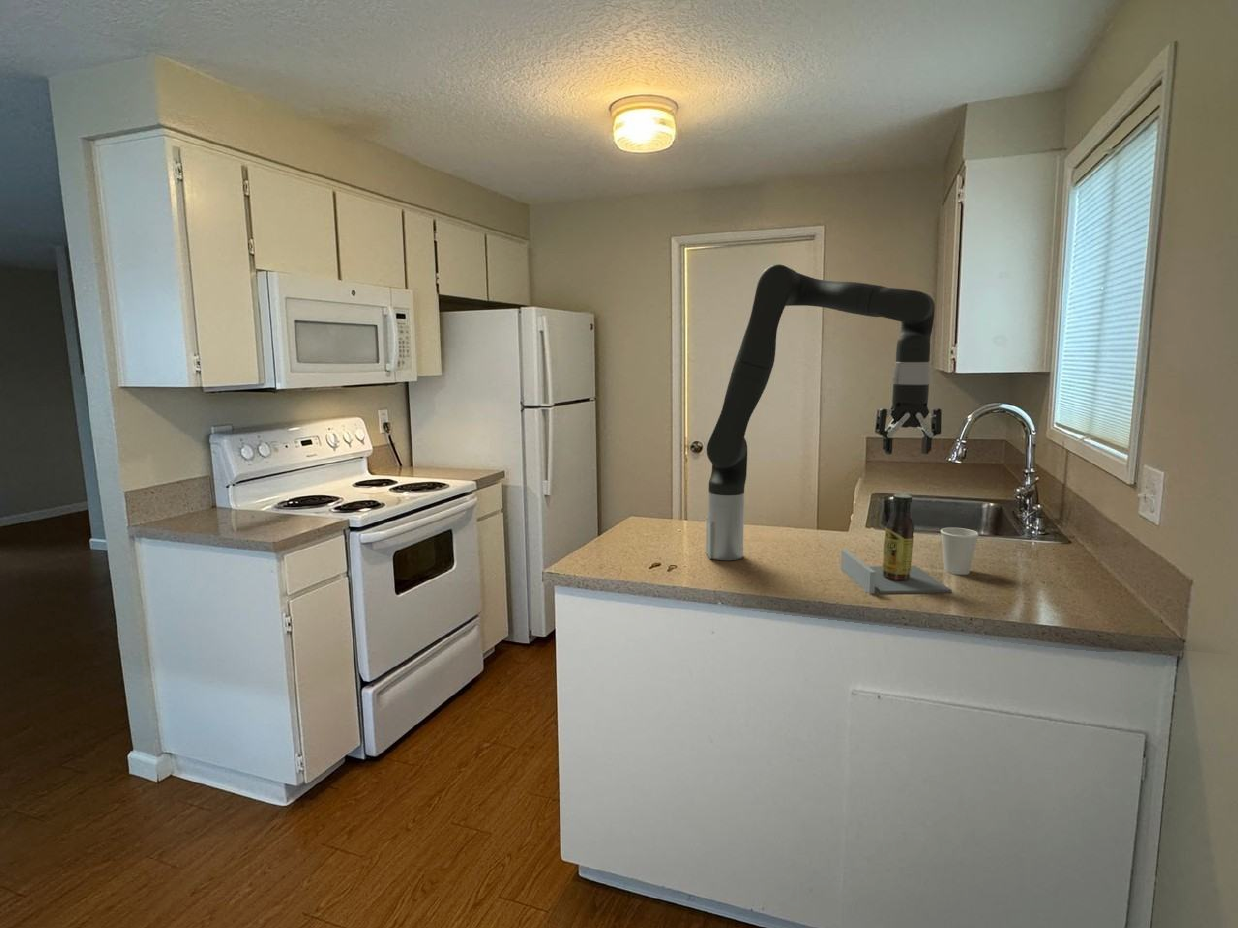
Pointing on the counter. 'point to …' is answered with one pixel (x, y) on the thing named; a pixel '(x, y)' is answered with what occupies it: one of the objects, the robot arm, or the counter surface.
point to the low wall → (858, 571)
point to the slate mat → (908, 583)
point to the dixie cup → (958, 549)
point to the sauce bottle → (899, 540)
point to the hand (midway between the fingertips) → (906, 453)
